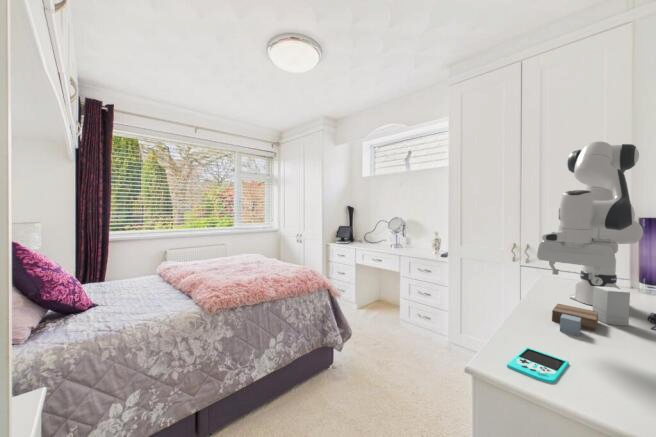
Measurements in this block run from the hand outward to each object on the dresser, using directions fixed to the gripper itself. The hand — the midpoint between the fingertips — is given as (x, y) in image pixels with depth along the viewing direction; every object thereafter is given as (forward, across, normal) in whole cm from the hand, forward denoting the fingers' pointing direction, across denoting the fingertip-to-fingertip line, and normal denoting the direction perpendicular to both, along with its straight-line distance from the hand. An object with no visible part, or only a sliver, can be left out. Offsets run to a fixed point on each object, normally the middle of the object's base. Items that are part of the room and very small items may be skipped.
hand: (572, 276), depth 96 cm
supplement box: (+19, -9, -24) cm, 32 cm away
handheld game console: (+20, +3, +35) cm, 40 cm away
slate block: (+19, 0, 0) cm, 19 cm away
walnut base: (+19, 0, -13) cm, 23 cm away
